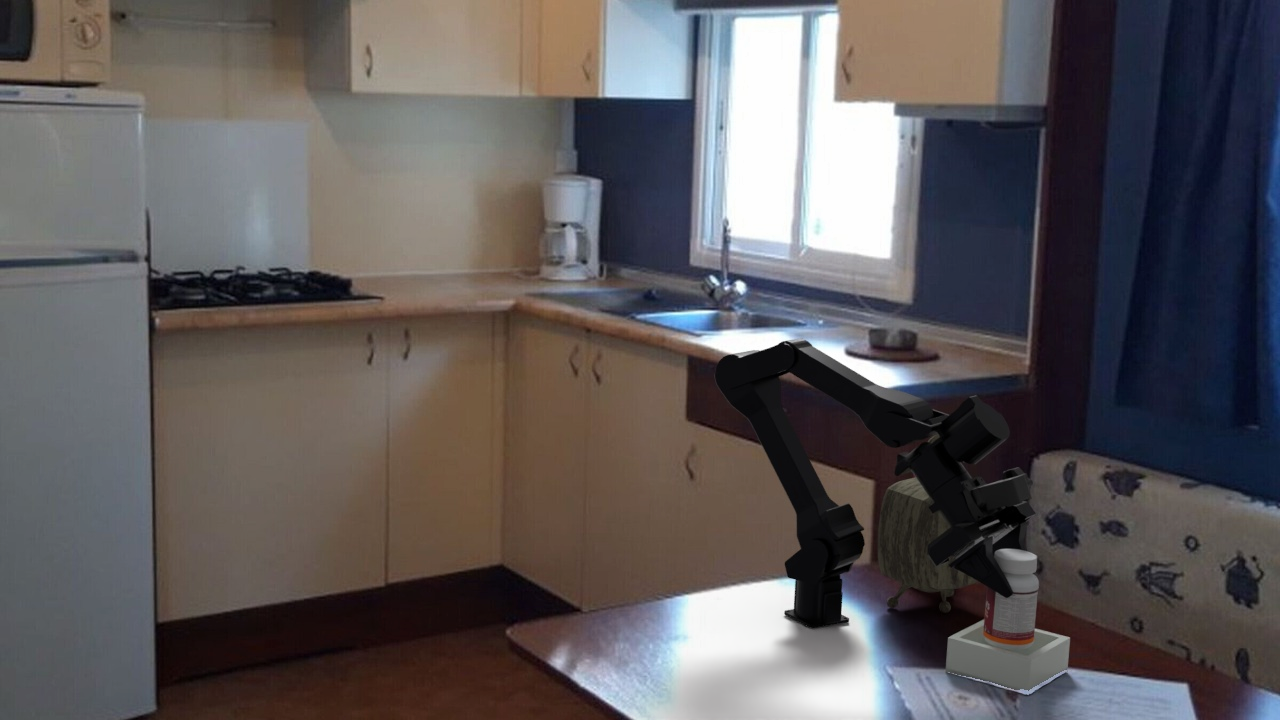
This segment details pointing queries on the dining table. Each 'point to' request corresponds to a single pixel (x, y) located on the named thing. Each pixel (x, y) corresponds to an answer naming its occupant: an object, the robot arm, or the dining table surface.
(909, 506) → the tabletop clock
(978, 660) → the sage open tray box
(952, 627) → the dining table surface
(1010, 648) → the pill bottle
